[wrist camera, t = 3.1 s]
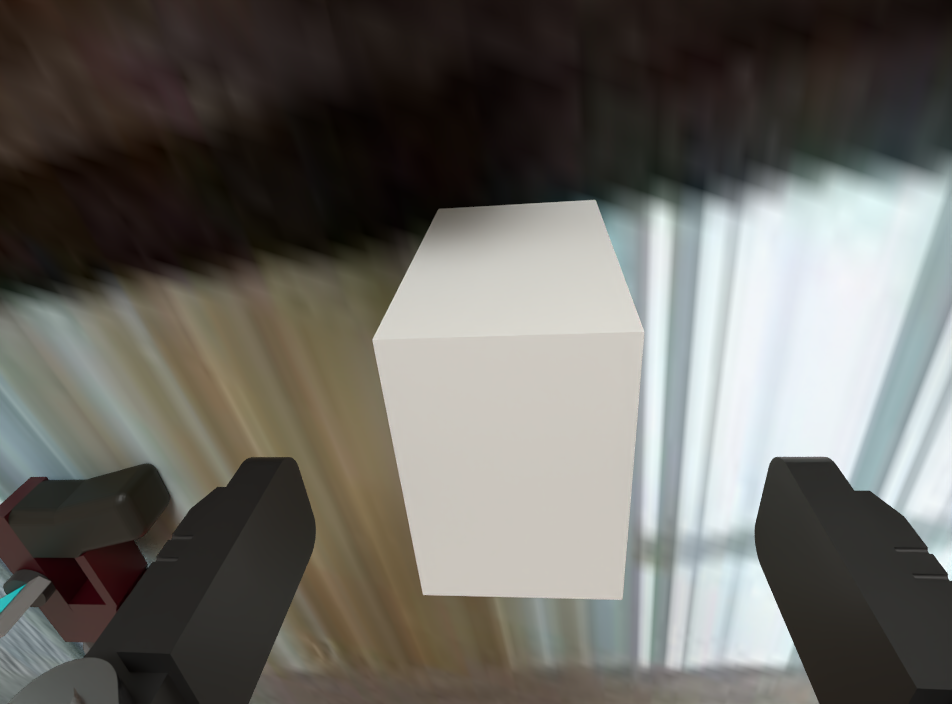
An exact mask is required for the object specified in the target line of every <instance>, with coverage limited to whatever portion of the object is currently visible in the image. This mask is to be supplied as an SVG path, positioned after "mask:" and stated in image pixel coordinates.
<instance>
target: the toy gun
mask: <svg viewBox="0 0 952 704" xmlns="http://www.w3.org/2000/svg"><path fill="white" fill-rule="evenodd" d="M169 500H170V496H169V494H168V492H167V490H166V488H165V486H164V484H163V482H162V480H161V478H160V476H159V474H158V472H157V470H156V468H155V467H154V466H153V465H151V464H142V465H138V466H134V467H131V468H127V469H123V470H120V471H116V472H113V473H109V474H105V475H102V476H98V477H94V478H91V479H88V480H48V478H47V477H30V478H29V479H28V480H27V481H26V482H25V483H24V484H23V485H22V486H20V487H19V488H18V489H17V490H16V491H15V492H14V493H13V494H12V495H11V496H9V497H8V498H7V499H6V500H5V501H4V502H3V503H2V504H1V505H0V558H1V559H2V561H3V562H4V563H5V564H6V566H7V567H8V568H9V570H10V571H11V572H12V573H13V575H12V576H11V577H10V578H9V579H8V581H7V582H6V583H5V584H4V586H3V588H4V591H5V593H6V594H7V595H5V596H4V597H2V598H0V638H1V637H3V636H5V635H6V634H7V632H8V631H9V630H10V629H11V628H12V627H13V625H14V624H15V623H16V622H17V621H18V620H19V618H20V617H21V616H22V615H23V614H24V613H25V611H26V610H27V609H28V608H29V607H39V608H40V610H41V611H42V612H43V614H44V615H45V616H46V617H47V619H48V620H49V621H50V623H51V624H52V625H53V626H54V628H55V629H56V630H57V632H58V633H59V634H60V635H61V637H62V638H63V639H64V641H65V642H83V650H84V652H85V654H87V652H88V651H89V650H90V649H91V647H92V646H93V645H94V643H95V642H96V640H97V639H98V638H99V636H100V635H101V633H102V632H103V631H104V629H105V628H106V626H107V625H108V624H109V622H110V621H111V619H112V618H113V617H114V615H115V614H116V612H117V611H118V610H119V608H120V607H121V606H122V604H123V603H124V601H125V600H126V599H127V597H128V596H129V594H130V593H131V592H132V590H133V589H134V587H135V586H136V585H137V583H138V582H139V580H140V579H141V578H142V576H143V575H144V573H145V572H146V571H147V569H146V566H147V562H146V561H145V559H144V557H143V555H142V554H141V552H140V550H139V549H138V547H137V545H136V543H135V542H134V540H136V539H139V538H141V537H142V536H144V535H145V534H146V533H147V532H148V530H149V529H150V528H151V526H152V525H153V524H154V522H155V521H156V520H157V518H158V517H159V516H160V515H161V513H162V512H163V511H164V509H165V508H166V507H167V505H168V503H169Z"/></svg>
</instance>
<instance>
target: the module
mask: <svg viewBox="0 0 952 704" xmlns="http://www.w3.org/2000/svg"><path fill="white" fill-rule="evenodd" d="M643 341H644V330H643V327H642V324H641V322H640V319H639V316H638V313H637V311H636V308H635V305H634V303H633V300H632V297H631V295H630V292H629V289H628V286H627V284H626V281H625V278H624V276H623V273H622V270H621V268H620V265H619V262H618V259H617V257H616V254H615V251H614V249H613V246H612V243H611V241H610V238H609V235H608V232H607V230H606V227H605V224H604V222H603V219H602V216H601V214H600V211H599V208H598V205H597V203H596V200H587V201H569V202H552V203H534V204H516V205H498V206H481V207H463V208H445V209H438V211H437V213H436V215H435V217H434V219H433V221H432V223H431V225H430V227H429V229H428V231H427V233H426V235H425V237H424V239H423V241H422V243H421V245H420V246H419V248H418V250H417V252H416V254H415V256H414V258H413V260H412V262H411V264H410V266H409V268H408V270H407V272H406V274H405V276H404V278H403V280H402V282H401V284H400V286H399V288H398V290H397V292H396V294H395V296H394V298H393V300H392V302H391V304H390V306H389V308H388V310H387V312H386V314H385V316H384V318H383V320H382V322H381V324H380V326H379V328H378V330H377V332H376V334H375V336H374V338H373V345H374V350H375V355H376V360H377V366H378V371H379V376H380V381H381V386H382V391H383V396H384V401H385V406H386V411H387V416H388V421H389V426H390V431H391V436H392V441H393V446H394V451H395V456H396V461H397V466H398V471H399V476H400V481H401V486H402V491H403V496H404V501H405V506H406V511H407V516H408V521H409V526H410V532H411V537H412V542H413V547H414V552H415V557H416V562H417V567H418V572H419V577H420V582H421V587H422V592H423V595H446V596H487V597H529V598H570V599H611V600H622V599H623V586H624V574H625V562H626V550H627V537H628V525H629V513H630V501H631V488H632V476H633V464H634V452H635V439H636V427H637V415H638V403H639V390H640V378H641V366H642V353H643Z"/></svg>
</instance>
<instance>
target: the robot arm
mask: <svg viewBox="0 0 952 704" xmlns="http://www.w3.org/2000/svg"><path fill="white" fill-rule="evenodd" d="M315 535H316V525H315V519H314V515H313V512H312V509H311V505H310V502H309V499H308V496H307V493H306V489H305V486H304V483H303V480H302V477H301V474H300V470H299V467H298V465H297V463H296V461H295V460H294V459H293V458H290V457H251V458H248V459H246V460H245V461H244V462H243V463H242V464H241V466H240V467H239V469H238V470H237V472H236V473H235V475H234V476H233V478H232V479H231V481H230V482H229V484H228V485H227V487H217V488H216V489H214V490H213V491H212V492H211V493H209V494H208V495H207V496H206V497H205V498H203V499H202V500H201V501H200V502H199V503H197V504H196V505H195V506H194V507H192V508H191V509H190V510H189V512H188V513H187V515H186V516H185V517H184V519H183V520H182V522H181V523H180V524H179V526H178V527H177V529H176V530H175V531H174V533H173V534H172V539H171V540H168V541H167V543H166V544H165V545H164V547H163V548H162V550H161V551H160V552H159V554H158V555H157V560H156V562H152V564H151V565H150V566H149V568H148V569H147V571H146V572H145V573H144V575H143V576H142V578H141V579H140V580H139V582H138V583H137V585H136V586H135V587H134V589H133V590H132V592H131V593H130V594H129V596H128V597H127V599H126V600H125V601H124V603H123V604H122V606H121V607H120V608H119V610H118V611H117V612H116V614H115V615H114V617H113V618H112V619H111V621H110V622H109V624H108V625H107V626H106V628H105V629H104V631H103V632H102V633H101V635H100V636H99V638H98V639H97V640H96V642H95V643H94V645H93V646H92V647H91V649H90V650H89V651H88V652H87V654H86V655H85V656H84V657H83V658H80V659H75V660H72V661H69V662H65V663H63V664H61V665H58V666H56V667H54V668H52V669H50V670H49V671H47V672H45V673H43V674H42V675H40V676H39V677H37V678H36V679H34V680H33V681H32V682H30V683H29V684H28V685H26V686H25V687H24V688H23V689H22V690H21V691H19V692H18V693H17V694H16V695H15V696H14V697H13V698H12V699H11V700H10V701H9V702H8V704H249V701H250V699H251V697H252V694H253V692H254V689H255V687H256V685H257V682H258V680H259V678H260V675H261V673H262V670H263V668H264V666H265V663H266V661H267V659H268V656H269V654H270V652H271V649H272V647H273V644H274V642H275V640H276V637H277V635H278V633H279V630H280V628H281V626H282V623H283V621H284V618H285V616H286V614H287V611H288V609H289V607H290V604H291V602H292V600H293V597H294V595H295V592H296V590H297V588H298V585H299V583H300V581H301V578H302V576H303V573H304V571H305V569H306V566H307V564H308V562H309V559H310V557H311V554H312V551H313V548H314V543H315ZM755 545H756V551H757V555H758V559H759V562H760V565H761V567H762V570H763V572H764V574H765V577H766V579H767V581H768V584H769V586H770V588H771V591H772V593H773V595H774V598H775V600H776V602H777V605H778V607H779V610H780V612H781V614H782V617H783V619H784V621H785V624H786V626H787V628H788V631H789V633H790V635H791V638H792V640H793V642H794V645H795V647H796V650H797V652H798V654H799V657H800V659H801V661H802V664H803V666H804V668H805V671H806V673H807V675H808V678H809V680H810V682H811V685H812V687H813V690H814V692H815V694H816V697H817V699H818V701H819V704H952V581H949V579H948V574H947V572H946V571H945V570H944V568H943V567H942V566H941V564H940V563H939V562H938V560H937V559H936V558H935V556H934V555H933V554H929V553H928V547H927V546H926V545H925V543H924V542H923V541H922V539H921V538H920V537H919V535H918V534H917V533H916V532H915V530H914V529H913V528H912V526H911V525H910V524H909V522H908V521H907V520H906V518H905V517H904V516H903V515H901V514H900V513H899V512H897V511H896V510H895V509H893V508H892V507H891V506H889V505H888V504H887V503H885V502H884V501H883V500H881V499H880V498H879V497H877V496H876V495H875V494H873V493H872V492H871V491H854V490H853V488H852V487H851V485H850V484H849V482H848V481H847V480H846V478H845V477H844V475H843V474H842V472H841V471H840V470H839V468H838V467H837V465H836V464H835V463H834V462H833V461H832V460H831V459H830V458H828V457H775V458H774V459H772V461H771V463H770V465H769V468H768V472H767V477H766V481H765V485H764V489H763V494H762V498H761V502H760V506H759V511H758V515H757V519H756V524H755Z"/></svg>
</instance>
